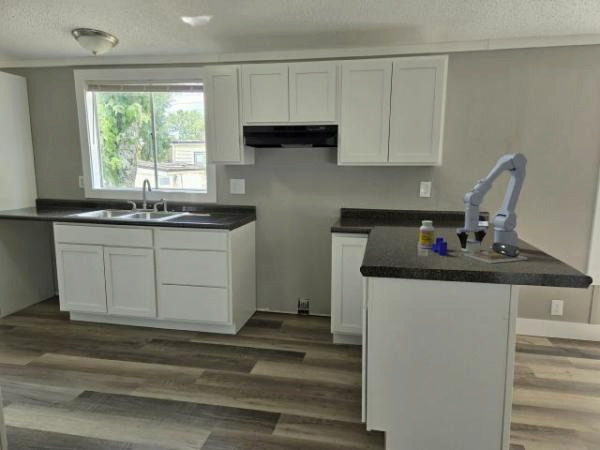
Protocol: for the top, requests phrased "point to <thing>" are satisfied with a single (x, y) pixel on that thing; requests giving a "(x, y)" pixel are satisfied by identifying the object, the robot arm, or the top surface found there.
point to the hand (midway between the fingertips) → (470, 247)
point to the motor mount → (498, 254)
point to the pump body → (472, 246)
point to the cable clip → (440, 247)
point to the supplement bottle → (426, 235)
